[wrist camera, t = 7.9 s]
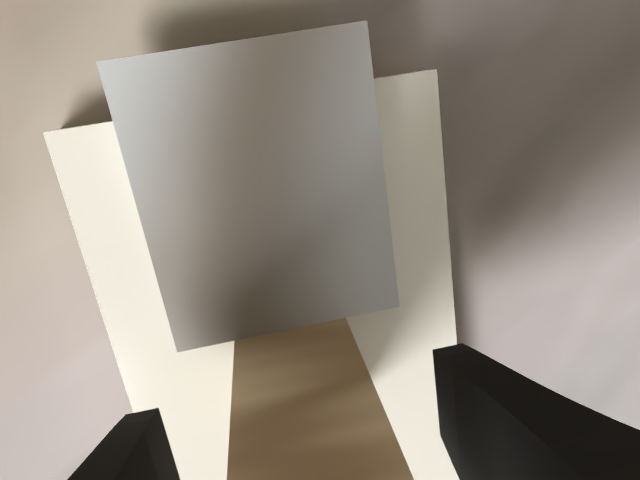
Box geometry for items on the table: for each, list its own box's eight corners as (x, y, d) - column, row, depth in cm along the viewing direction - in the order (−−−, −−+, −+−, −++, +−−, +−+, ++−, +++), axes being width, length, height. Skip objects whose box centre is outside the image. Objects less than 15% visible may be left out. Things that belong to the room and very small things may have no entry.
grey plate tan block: (360, 23, 10) (513, -66, 4) (403, 385, 12) (532, 635, 7) (105, 63, 9) (-115, 25, 4) (205, 428, 12) (166, 733, 6)
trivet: (421, 70, 11) (437, 68, 10) (455, 484, 15) (469, 510, 14) (61, 128, 11) (43, 132, 10) (191, 546, 14) (186, 579, 13)
